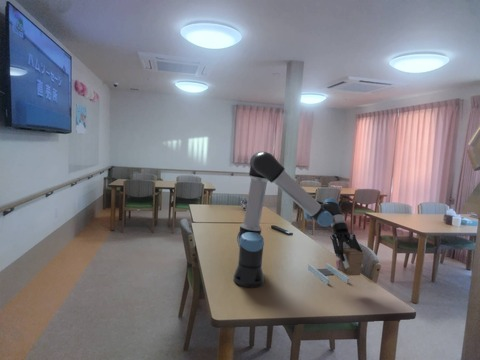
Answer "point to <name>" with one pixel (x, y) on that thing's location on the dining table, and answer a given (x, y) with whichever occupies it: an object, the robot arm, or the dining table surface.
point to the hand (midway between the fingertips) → (354, 267)
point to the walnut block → (352, 262)
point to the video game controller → (338, 263)
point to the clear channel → (327, 273)
